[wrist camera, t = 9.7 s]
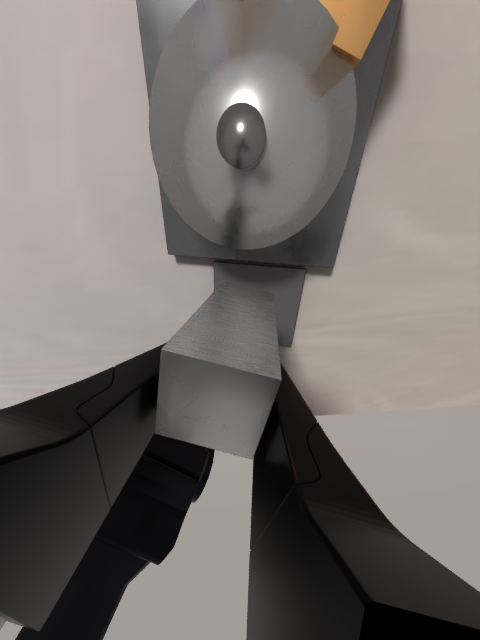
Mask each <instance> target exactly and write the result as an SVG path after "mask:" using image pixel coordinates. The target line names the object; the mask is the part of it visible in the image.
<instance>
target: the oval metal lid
mask: <svg viewBox="0 0 480 640" xmlns="http://www.w3.org/2000/svg"><path fill="white" fill-rule="evenodd" d="M389 1H390V0H197V1H196V2H195V3H194V4H193V5H192V6H191V7H190V8H189V9H188V10H187V11H186V12H185V14H184V15H183V16H182V18H181V19H180V20H179V22H178V23H177V24H176V26H175V28H174V29H173V31H172V33H171V35H170V36H169V38H168V40H167V42H166V44H165V47H164V49H163V51H162V54H161V56H160V59H159V62H158V65H157V69H156V72H155V75H154V80H153V85H152V90H151V96H150V107H149V133H150V143H151V150H152V155H153V160H154V164H155V167H156V171H157V174H158V177H159V179H160V182H161V184H162V187H163V189H164V191H165V193H166V195H167V197H168V199H169V201H170V202H171V204H172V205H173V207H174V208H175V210H176V211H177V212H178V214H179V215H180V216H181V217H182V219H183V220H184V221H185V222H186V223H187V224H188V225H189V226H190V227H191V228H192V229H194V230H195V231H196V232H198V233H199V234H200V235H202V236H203V237H205V238H207V239H208V240H210V241H212V242H214V243H217V244H219V245H222V246H225V247H229V248H234V249H242V250H245V249H259V248H265V247H268V246H271V245H275V244H277V243H279V242H282V241H284V240H286V239H288V238H289V237H291V236H293V235H294V234H296V233H297V232H299V231H300V230H301V229H302V228H304V227H305V226H306V225H307V224H308V223H309V222H310V221H311V220H312V219H313V218H314V217H315V216H316V215H317V214H318V213H319V212H320V210H321V209H322V208H323V207H324V206H325V204H326V203H327V201H328V200H329V198H330V197H331V195H332V193H333V192H334V190H335V188H336V186H337V184H338V182H339V180H340V178H341V176H342V174H343V171H344V169H345V166H346V163H347V161H348V157H349V154H350V150H351V146H352V143H353V136H354V130H355V124H356V108H357V100H356V83H355V77H354V71H355V69H356V67H357V66H358V64H359V62H360V60H361V58H362V56H363V54H364V52H365V50H366V48H367V46H368V44H369V42H370V40H371V38H372V36H373V34H374V32H375V30H376V28H377V26H378V24H379V22H380V20H381V18H382V16H383V14H384V12H385V10H386V8H387V6H388V3H389Z"/></svg>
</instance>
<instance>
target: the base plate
mask: <svg viewBox="0 0 480 640" xmlns="http://www.w3.org/2000/svg"><path fill="white" fill-rule="evenodd" d="M196 1H197V0H136V4H137V12H138V20H139V28H140V35H141V43H142V51H143V59H144V67H145V75H146V83H147V91H148V99H149V107H150V96H151V90H152V85H153V80H154V75H155V72H156V69H157V65H158V62H159V59H160V56H161V54H162V51H163V49H164V47H165V44H166V42H167V40H168V38H169V36H170V35H171V33H172V31H173V29H174V28H175V26H176V24H177V23H178V22H179V20H180V19H181V18H182V16H183V15H184V14H185V12H186V11H187V10H188V9H189V8H190V7H191V6H192V5H193V4H194V3H195V2H196ZM401 2H402V0H390V1H389V3H388V6H387V8H386V10H385V12H384V14H383V16H382V18H381V20H380V22H379V24H378V26H377V28H376V30H375V32H374V34H373V36H372V38H371V40H370V42H369V44H368V46H367V48H366V50H365V52H364V54H363V56H362V58H361V60H360V62H359V64H358V66H357V67H356V69H355V71H354V77H355V83H356V100H357V108H356V124H355V130H354V136H353V143H352V146H351V150H350V154H349V157H348V161H347V163H346V166H345V169H344V171H343V174H342V176H341V178H340V180H339V182H338V184H337V186H336V188H335V190H334V192H333V193H332V195H331V197H330V198H329V200H328V201H327V203H326V204H325V206H324V207H323V208H322V209H321V210H320V212H319V213H318V214H317V215H316V216H315V217H314V218H313V219H312V220H311V221H310V222H309V223H308V224H307V225H306V226H305V227H304V228H302V229H301V230H300V231H299V232H297V233H296V234H294V235H293V236H291V237H289V238H288V239H286V240H284V241H282V242H279V243H277V244H275V245H271V246H268V247H265V248H259V249H245V250H242V249H234V248H229V247H225V246H222V245H219V244H217V243H214V242H212V241H210V240H208V239H207V238H205V237H203V236H202V235H200V234H199V233H198V232H196V231H195V230H194V229H192V228H191V227H190V226H189V225H188V224H187V223H186V222H185V221H184V220H183V219H182V217H181V216H180V215H179V214H178V212H177V211H176V210H175V208H174V207H173V205H172V204H171V202H170V201H169V199H168V197H167V195H166V193H165V191H164V189H163V187H162V184H161V182H160V179H159V177H158V179H159V187H160V195H161V202H162V210H163V218H164V226H165V234H166V242H167V250H168V254H170V255H182V256H195V257H208V258H220V259H233V260H245V261H258V262H270V263H283V264H295V265H308V266H321V267H333V266H334V263H335V259H336V255H337V251H338V247H339V243H340V239H341V235H342V232H343V228H344V224H345V220H346V216H347V212H348V208H349V204H350V200H351V197H352V193H353V189H354V185H355V181H356V177H357V173H358V169H359V166H360V162H361V158H362V154H363V150H364V146H365V142H366V138H367V134H368V131H369V127H370V123H371V119H372V115H373V111H374V107H375V103H376V100H377V96H378V92H379V88H380V84H381V80H382V76H383V72H384V68H385V65H386V61H387V57H388V53H389V49H390V45H391V41H392V37H393V34H394V30H395V26H396V22H397V18H398V14H399V10H400V6H401Z"/></svg>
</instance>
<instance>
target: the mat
mask: <svg viewBox="0 0 480 640" xmlns="http://www.w3.org/2000/svg"><path fill="white" fill-rule="evenodd" d="M305 271H306V269H305V268H295V267H283V266H270V265H258V264H246V263H234V262H221V261H215V262H214V291H215V290H216V289H217V288H218V287H219V286H220V285H221V284H222V283H223V282H224V281H226V282H230V283H234V284H238V285H242V286H247V287H251V288H255V289H259V290H263V291H267V292H271V293H273V294H274V305H275V315H276V326H277V336H278V345H281V346H289V347H291V343H292V338H293V333H294V328H295V322H296V317H297V312H298V307H299V302H300V297H301V292H302V286H303V281H304V276H305Z"/></svg>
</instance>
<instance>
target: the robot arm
mask: <svg viewBox="0 0 480 640" xmlns="http://www.w3.org/2000/svg"><path fill="white" fill-rule="evenodd" d="M166 344H167V343H165V344H163V345H160V346H158V347H156V348H154V349H152V350H149V351H147V352H145V353H143V354H140V355H138V356H136V357H134V358H132V359H129V360H127V361H125V362H123V363H121V364H118V365H116V366H115V367H111V368H109V369H107V370H105V371H103V372H100V373H98V374H96V375H93V376H91V377H89V378H86V379H84V380H81V381H78V382H76V383H73V384H71V385H68V386H65V387H63V388H60V389H57V390H55V391H52V392H49V393H46V394H44V395H41V396H38V397H36V398H33V399H30V400H27V401H25V402H22V403H19V404H17V405H14V406H11V407H8V408H4V409H1V410H0V629H1V628H2V626H3V625H4V623H5V622H6V621H8V622H11V623H14V624H17V625H21V626H23V627H22V629H21V631H20V633H19V634H18V636H17V638H16V639H15V640H103V638H104V635H105V633H106V631H107V628H108V626H109V624H110V622H111V620H112V618H113V615H114V613H115V611H116V609H117V607H118V604H119V602H120V600H121V598H122V596H123V593H124V591H125V589H126V587H127V585H128V584H129V582H131V581H132V580H133V579H134V578H135V577H136V576H137V575H138V574H139V573H140V572H141V571H142V570H143V569H144V568H145V567H146V566H147V565H148V564H149V563H150V562H152V563H154V564H157V565H159V564H160V563H161V562H162V561H163V560H164V559H165V557H166V556H167V555H168V554H169V552H170V551H171V550H172V549H173V547H174V545H175V543H176V540H177V537H178V534H179V532H180V529H181V526H182V523H183V521H184V518H185V516H186V513H187V511H188V509H189V506H190V504H191V502H195V501H196V500H197V499H198V498H199V496H200V495H201V493H202V491H203V489H204V487H205V485H206V482H207V480H208V477H209V474H210V471H211V467H212V464H213V458H214V450H215V449H211V448H207V447H203V446H200V445H196V444H192V443H188V442H185V441H181V440H177V439H173V438H170V437H166V436H162V435H158V434H155V426H156V412H157V398H158V384H159V371H160V357H161V349H162V348H163V347H164V346H165V345H166ZM280 367H281V378H282V381H281V384H280V386H279V389H278V392H277V394H276V397H275V400H274V402H273V405H272V408H271V411H270V413H269V416H268V419H267V421H266V424H265V427H264V430H263V432H262V435H261V438H260V440H259V443H258V446H257V449H256V451H255V454H254V460H253V485H252V512H251V540H250V550H251V551H250V562H249V588H248V589H249V590H248V613H247V640H480V592H479V591H477V590H476V589H475V588H473V587H472V586H470V585H469V584H468V583H467V582H465V581H464V580H462V579H461V578H460V577H458V576H457V575H456V574H454V573H453V572H452V571H450V570H449V569H447V568H446V567H445V566H443V565H442V564H441V563H439V562H438V561H437V560H435V559H434V558H433V557H431V556H430V555H428V554H427V553H426V552H424V551H423V550H422V549H420V548H419V547H418V546H416V545H415V544H414V543H412V542H411V541H410V540H409V539H407V538H406V537H405V536H404V535H403V534H402V533H401V532H400V531H399V530H398V529H397V528H396V527H394V525H393V524H392V523H391V522H390V521H389V520H388V519H387V518H386V516H385V515H384V514H383V513H382V511H381V510H380V509H379V507H378V506H377V505H376V504H375V502H374V501H373V499H372V498H371V497H370V495H369V494H368V493H367V491H366V490H365V489H364V487H363V486H362V485H361V483H360V482H359V481H358V479H357V478H356V477H355V475H354V474H353V473H352V471H351V470H350V468H349V467H348V466H347V465H346V463H345V462H344V460H343V459H342V458H341V456H340V455H339V453H338V452H337V451H336V449H335V448H334V447H333V445H332V443H331V442H330V440H329V439H328V437H327V436H326V434H325V433H324V431H323V429H322V428H321V426H320V425H319V423H318V422H317V420H316V418H315V417H314V415H313V414H312V412H311V410H310V409H309V407H308V405H307V404H306V402H305V401H304V399H303V397H302V396H301V394H300V393H299V391H298V389H297V388H296V386H295V385H294V383H293V381H292V380H291V378H290V377H289V375H288V373H287V372H286V370H285V369H284V367H283V365H282V364H281V362H280ZM316 422H317V423H316Z"/></svg>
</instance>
